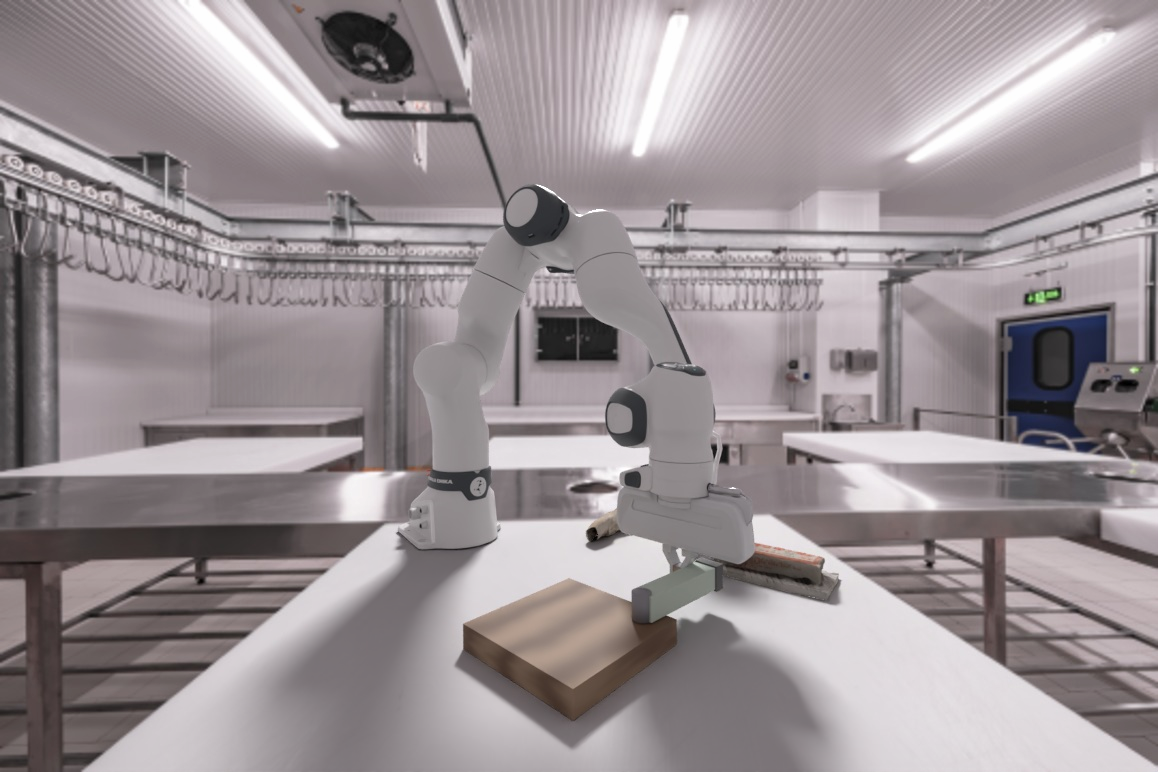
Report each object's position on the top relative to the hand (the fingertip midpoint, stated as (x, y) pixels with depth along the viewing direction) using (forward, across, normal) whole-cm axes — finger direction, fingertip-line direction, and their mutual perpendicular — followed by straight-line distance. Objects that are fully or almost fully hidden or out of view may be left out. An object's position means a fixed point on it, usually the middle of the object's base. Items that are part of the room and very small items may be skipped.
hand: (680, 577), depth 69 cm
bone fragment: (+5, +28, -18) cm, 33 cm away
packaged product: (+5, -5, -20) cm, 21 cm away
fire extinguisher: (+4, +12, -26) cm, 29 cm away
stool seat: (+4, +4, +18) cm, 19 cm away
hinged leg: (+1, -2, +5) cm, 6 cm away
